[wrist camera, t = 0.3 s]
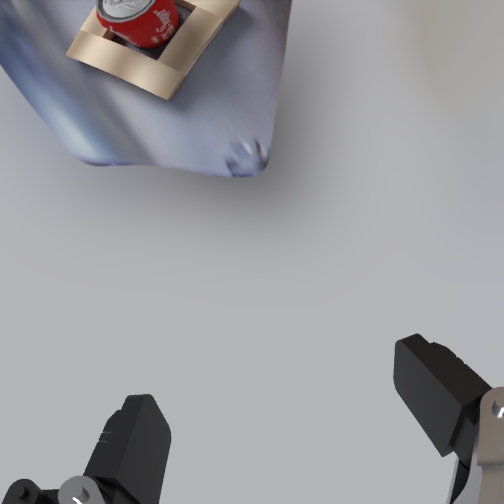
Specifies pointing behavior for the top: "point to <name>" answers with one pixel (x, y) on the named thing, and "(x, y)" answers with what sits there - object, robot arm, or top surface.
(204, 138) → the top surface
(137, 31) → the soda can
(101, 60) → the block
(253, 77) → the top surface
